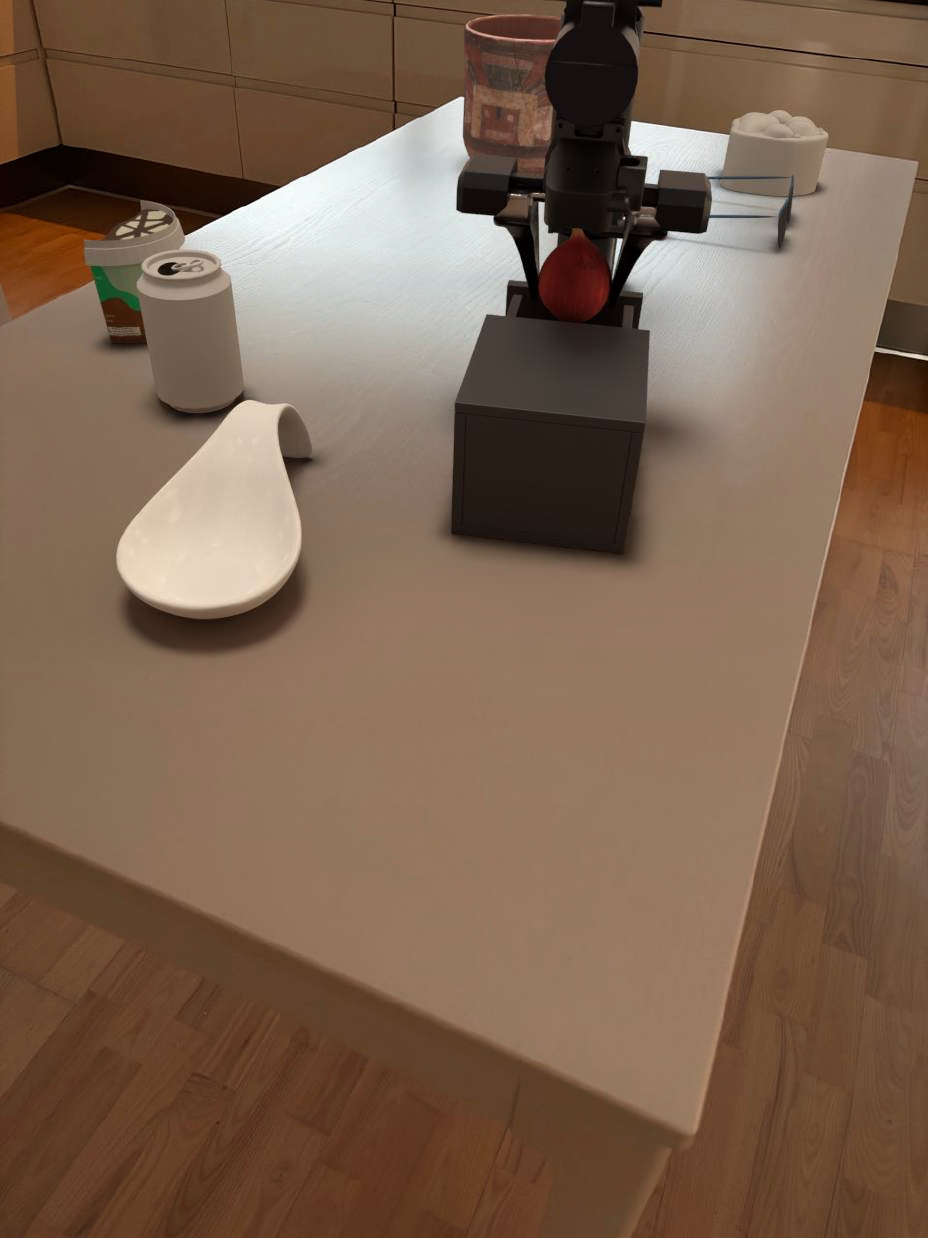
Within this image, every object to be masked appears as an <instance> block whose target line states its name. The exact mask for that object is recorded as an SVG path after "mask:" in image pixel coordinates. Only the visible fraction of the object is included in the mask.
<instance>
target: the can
mask: <svg viewBox="0 0 928 1238" xmlns="http://www.w3.org/2000/svg"><path fill="white" fill-rule="evenodd" d="M142 271H143V272H144V273H143V274H142V276H141V277H140V278H139V280H138V281H137V291H138V296H139V302H140V307H141V312H142V318H143V323H144V328H145V334H146V339H147V342H146V344H147V348H148V355H149V361H150V366H151V371H152V377H153V381H154V387H155V393H156V395H157V397H158V398H159V400H160V401H162V402H164V403H166V404H167V405H169V406H170V407H171V408H173V409H175V410H177V411H178V412H184V413H187V414H206V413H212V412H216V411H220V410H223V409H224V408H225V409H226V408H227V407H229V406H230V405H231V404H233V403H234V402H235V400H236V398H238V397H239V396H240V395H241V394H242V393H243V391H244V389H245V381H244V374H243V365H242V358H241V349H240V341H239V333H238V325H237V317H236V309H235V301H234V300H235V299H234V291H233V285H232V284H233V283H232V278H231V275H230V274H229V273H228V272H227V271H225V270H224V269H223V268H222V260H221V258H219V257H218V256H217V255H216V254H215V253H211V252H208V251H205V250H199V249H189V248H188V249H187V248H186V249H179V250H171V251H165V252H161V253H158V254H155V255H152V256H151V257H149V258H147V259H146V260H145V261H144V262H143V263H142Z"/></svg>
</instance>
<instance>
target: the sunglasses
mask: <svg viewBox="0 0 928 1238" xmlns="http://www.w3.org/2000/svg"><path fill="white" fill-rule="evenodd" d="M707 178H708V179H709V180H721V179H778V178H791V177H778V176H722V175H721V176H720V175H719V176H717V175H716V176H710V175H709V176H707ZM793 188H794V176H793V175H792V181H791V186H790V189H789V194H788V196H787V198H785V201H784V203H783V205H782V206H781V208H780V210H779V212H778V214H777V215H778V216H777V219H778V220H777V221H778V222H777V246H778V249H779V248H782V246H783V243H784V240H785V236H786V232H787V226H788V225H787V224H790V220H791V216H792V215H791V214H792V209H793V208H792V207H793V197H794V196H793ZM770 218H776V216H773V215H754V214H753V215H752V214H710V217H709V219H770Z"/></svg>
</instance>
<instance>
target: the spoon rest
mask: <svg viewBox="0 0 928 1238" xmlns="http://www.w3.org/2000/svg"><path fill="white" fill-rule="evenodd" d="M312 452H313V446H312V441H311V438H310V434H309V431H308V429H307V426H306V423H305V421H304V419H303V418H302V416H301V414H300V412H299V411H298V410H297V408H296V407H295V406H293V405H292V404H290V403H283V402H282V403H276V404H275V403H274V404H269V403H264V402H260V401H258V400H253V399H247V400H244V401H242V402H240V403H238V404H237V405H236V406H235V407H234V408H232V410H231V411H230V412H229V413H228V414H227V415H226V416H225V417H224V419H223V420H222V422H221V423H220V424H219V426H218V427H217V428H216V429H215V430H214V432H213V433H212V435H210V437H209V438H208V439H207V440H206V441H205V443H204V444H202V445H201V447H200V448H199V449H198V450H197V451H196V452H195V454H194V455H192V457H191V458H190V459H189V460H188V461H187V462H186V463H185V464H184V465H183V466H182V467H181V468H180V469H179V470H178V471H177V472H176V473H175V474H174V475H173V476H172V477H171V478H170V479H169V480H168V481H167V482H166V484H164V485H163V486H162V487H161V488H160V489H159V490H158V491H157V492H156V493H155V494H154V495H153V496H152V497H151V498H150V500H148V502H146V504H145V505H144V506H143V508H142V509H141V510H140V511H139V512H138V513H137V514H136V515H135V516H134V518H133V519H132V520H131V521H130V522H129V524H128V526H127V527H126V528H125V529H124V531H123V533H122V535H121V537H120V539H119V542H118V544H117V547H116V555H115V563H116V569H117V570H116V571H117V573H118V575H119V577H120V579H121V581H122V583H123V584H124V585H125V587H126V588H127V589H128V590H129V591H130V592H131V593H132V594H133V595H134V596H135V597H136V598H137V599H139V600H141V601H142V602H143V603H145V604H147V605H149V606H150V607H153V608H155V609H157V610H159V611H162V612H165V613H168V614H171V615H174V616H176V617H177V616H178V617H183V618H188V619H195V620H214V619H222V618H227V617H228V618H229V617H232V616H237V615H240V614H243V613H246V612H248V611H251V610H254V609H255V608H257V607H259V606H261V605H263V604H264V603H265V602H268V600H270V599H271V598H273V597H274V596H275V595H276V594H278V592H279V591H280V590H281V589H282V588H283V586H284V585H285V584H286V583H287V582H288V580H289V579H290V577H291V575H292V574H293V572H294V570H295V568H296V566H297V564H298V562H299V559H300V555H301V551H302V545H303V529H302V521H301V515H300V511H299V508H298V505H297V501H296V498H295V494H294V490H293V488H292V485H291V482H290V478H289V475H288V473H287V468H286V465H285V462H284V461H285V460H284V458H286V457H287V458H291V459H304V458H305V459H306V458H308V457H310V456H311V455H312Z"/></svg>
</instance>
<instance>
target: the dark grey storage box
mask: <svg viewBox="0 0 928 1238" xmlns="http://www.w3.org/2000/svg"><path fill="white" fill-rule="evenodd" d="M650 338H651V330H650V329H640V328H638V329H632V328H622V327H612V326H602V325H591V324H581V323H571V322H561V321H551V320H540V319H530V318H520V317H510V316H505V315H498V314H485V317H484V320H483V323H482V325H481V328H480V331H479V334H478V337H477V340H476V342H475V345H474V347H473V351H472V354H471V356H470V359H469V362H468V365H467V367H466V370H465V373H464V376H463V379H462V382H461V383H460V387H459V390H458V392H457V395H456V398H455V401H454V416H453V417H454V418H453V420H454V421H453V450H452V451H453V452H452V485H451V488H452V489H451V521H450V522H451V524H450V533H451V534H455V535H456V534H457V535H464V536H473V537H480V538H481V537H482V538H489V539H495V540H497V539H498V540H505V541H514V542H521V543H531V544H539V545H547V546H554V547H555V546H556V547H562V548H563V547H564V548H569V549H570V548H571V549H579V550H589V551H597V552H604V553H605V552H606V553H612V554H619V555H623V554H625V548H626V542H627V536H628V532H629V525H630V520H631V513H632V507H633V502H634V495H635V490H636V484H637V478H638V472H639V466H640V461H641V455H642V448H643V444H644V443H643V442H644V437H645V431H646V424H647V410H648V407H647V406H648V385H649V363H650V340H651V339H650Z"/></svg>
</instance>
